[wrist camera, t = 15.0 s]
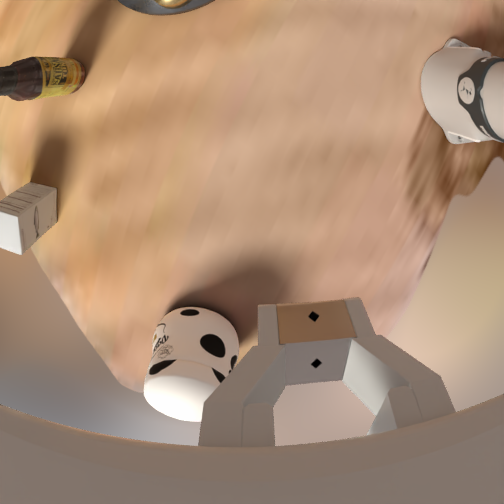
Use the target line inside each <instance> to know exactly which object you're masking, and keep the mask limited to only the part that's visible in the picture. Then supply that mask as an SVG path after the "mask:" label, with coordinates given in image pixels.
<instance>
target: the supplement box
mask: <svg viewBox="0 0 504 504" xmlns="http://www.w3.org/2000/svg"><path fill="white" fill-rule="evenodd" d="M56 198H57V188H54V187H49V186H45V185H41V184H36V183H32V182H29V183H28V184H26V185H24V186H23V187H21V188H19V189H18V190H16V191H15V192H13V193H11V194H10V195H8V196H7V197H5V198H4V199H2V200H1V201H0V248H3V249H6V250H9V251H11V252H14V253H17V254H20V255H22V254H23V253H24V252H25V251H26V250H27V249H29V248H30V247H31V246H32V245H33V244H34V243H35V242H36V241H37V240H38V239H39V238H40V237H41V236H42V235H43V234H44V233H46V232H47V231H48V230H49V229H50V228H51V227H52V226H53V225H55V224H56V223H57V212H56V200H57V199H56Z"/></svg>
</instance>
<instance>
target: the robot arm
mask: <svg viewBox="0 0 504 504" xmlns="http://www.w3.org/2000/svg"><path fill="white" fill-rule="evenodd" d="M459 46H460V47H459ZM421 92H422V97H423V100H424V103H425V106H426V108H427V110H428V112H429V113H430V115H431V116H432V118H433V119H434V120H435V121H436V122H437V123H438V124H439V125H440V126H441V127H442V128H443V130H444V133H445V135H446V137H447V139H448V141H449V142H450V143H453V144H461V143H469V142H480V141H486V140H496V141H499V142H500V141H501V142H504V59H503V58H500V57H497V56H492V57H491V53H490V52H488V51H482V49H480V48H475V47H470V46H468V45H466V44H465V43H463V42H461V41H459V40H457V39H453V38H451V39H449V40H448V41H447V42H446V44H445V46H444V47H443V49H441V50H440V51H438V52H436V53H434V54H433V55H432V56H431V57H430V58H429V59H428V60H427V62H426V63H425V65H424V68H423V71H422V76H421ZM458 136H460V137H459V138H458ZM338 380H342V382H343V383H344V384H345V385H346V386H347V387H348V388H349V389H350V390H351V391H352V392H353V393H354V394H355V395H356V396H357V397H358V398H359V399H360V400H361V402H362V403H363V404H364V405H365V406H366V407H367V408H368V409H369V410H370V411H371V412H372V413H373V414H374V415H375V416H376V418H375V420H374V422H373V424H372V426H371V428H370V430H369V431H368V433H367V435H365V436H360V437H354V438H348V439H342V440H335V441H327V442H319V443H309V444H299V445H286V446H275V435H274V416H273V407H274V405H275V403H276V402H277V400H278V398H279V397H280V395H281V394H282V392H283V390H284V389H285V386H286V385H296V384H306V383H314V382H327V381H338ZM0 504H504V394H502V395H500V396H497V397H495V398H493V399H490V400H488V401H485V402H483V403H480V404H477V405H475V406H472V407H469V408H467V409H464V410H461V411H458V412H456V411H455V409H454V407H453V404H452V402H451V399H450V397H449V395H448V392H447V390H446V388H445V385H444V383H443V381H442V379H441V377H440V376H439V375H438V374H436V373H435V372H434V371H432V370H431V369H429V368H428V367H426V366H425V365H424V364H422V363H421V362H419V361H418V360H416V359H415V358H413V357H412V356H411V355H409V354H408V353H406V352H405V351H403V350H402V349H400V348H399V347H398V346H396V345H394V344H393V343H392V342H390V341H389V340H388V339H386V338H385V337H383V336H382V335H376V334H375V332H374V329H373V327H372V324H371V322H370V319H369V317H368V315H367V312H366V310H365V307H364V305H363V302H362V300H361V299H360V298H359V297H355V298H347V299H341V300H330V301H318V302H303V303H281V304H262V305H258V346H253V347H252V348H251V349H250V350H249V351H248V353H247V354H246V355H245V356H244V357H243V358H242V360H241V361H240V362H239V363H238V364H237V365H236V367H235V368H234V369H233V370H232V371H231V372H230V373H229V375H228V376H227V377H226V378H225V379H224V380H223V381H222V382H221V384H220V385H219V386H218V387H217V388H216V389H215V390H214V391H213V393H212V394H211V395H210V396H209V397H208V398H207V399H206V400H205V401H204V404H203V412H202V420H201V428H200V436H199V444H198V446H189V445H176V444H166V443H157V442H148V441H141V440H134V439H127V438H121V437H115V436H110V435H105V434H100V433H95V432H90V431H86V430H81V429H77V428H73V427H69V426H66V425H62V424H58V423H55V422H51V421H48V420H44V419H41V418H37V417H34V416H32V415H29V414H26V413H23V412H20V411H17V410H14V409H11V408H9V407H6V406H3V405H1V404H0Z"/></svg>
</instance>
